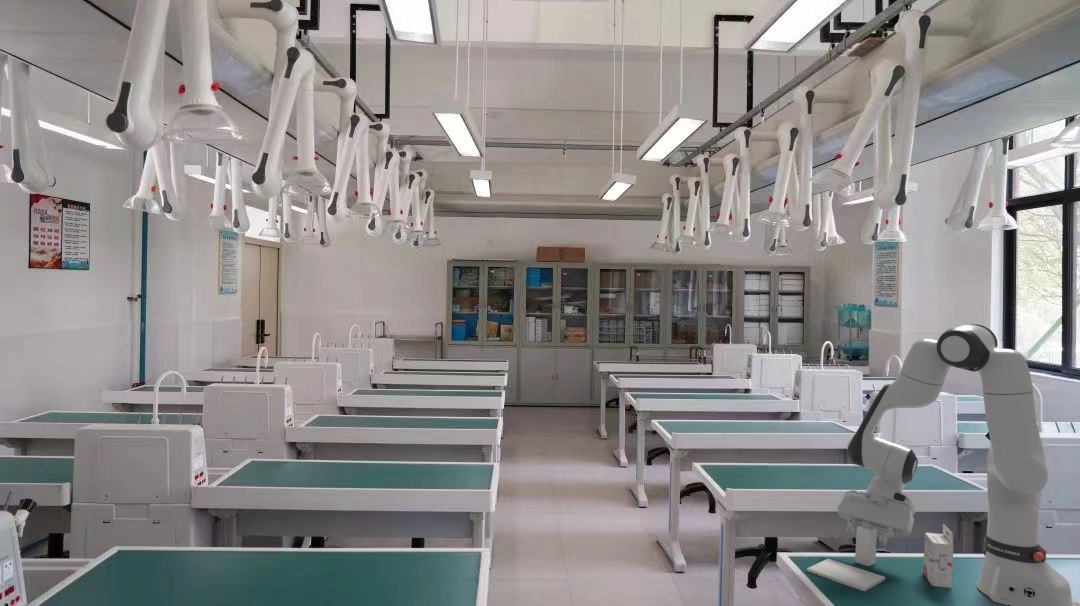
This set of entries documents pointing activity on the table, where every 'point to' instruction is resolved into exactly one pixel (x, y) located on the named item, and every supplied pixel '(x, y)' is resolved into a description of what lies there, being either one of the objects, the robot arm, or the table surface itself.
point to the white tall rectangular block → (866, 544)
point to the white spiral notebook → (846, 574)
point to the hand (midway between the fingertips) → (865, 537)
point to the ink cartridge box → (938, 558)
